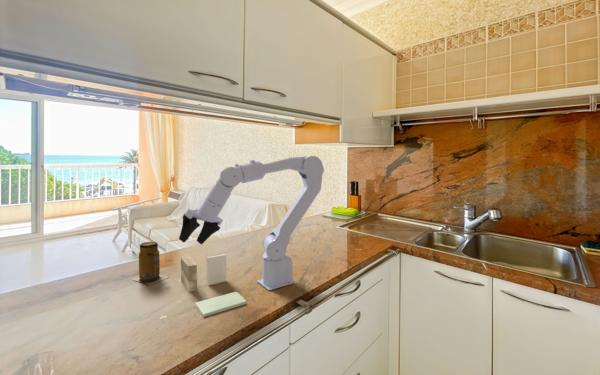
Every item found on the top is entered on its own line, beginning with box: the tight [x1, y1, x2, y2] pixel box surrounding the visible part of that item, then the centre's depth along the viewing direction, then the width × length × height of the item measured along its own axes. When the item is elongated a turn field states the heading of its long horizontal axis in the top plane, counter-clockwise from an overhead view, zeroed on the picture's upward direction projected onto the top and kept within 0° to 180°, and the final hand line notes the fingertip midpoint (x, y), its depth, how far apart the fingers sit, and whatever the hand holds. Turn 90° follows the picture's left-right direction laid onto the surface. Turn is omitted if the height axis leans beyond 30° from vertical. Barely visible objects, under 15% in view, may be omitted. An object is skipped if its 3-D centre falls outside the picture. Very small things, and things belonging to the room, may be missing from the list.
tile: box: [206, 253, 227, 286], centre depth 91 cm, size 6×1×9 cm, turn 126°
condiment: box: [132, 241, 169, 286], centre depth 92 cm, size 7×8×12 cm
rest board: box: [194, 291, 248, 318], centre depth 77 cm, size 12×7×1 cm, turn 126°
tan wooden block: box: [180, 256, 198, 293], centre depth 88 cm, size 2×9×8 cm, turn 37°
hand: (190, 241), depth 83 cm, fingers open, 7 cm apart
